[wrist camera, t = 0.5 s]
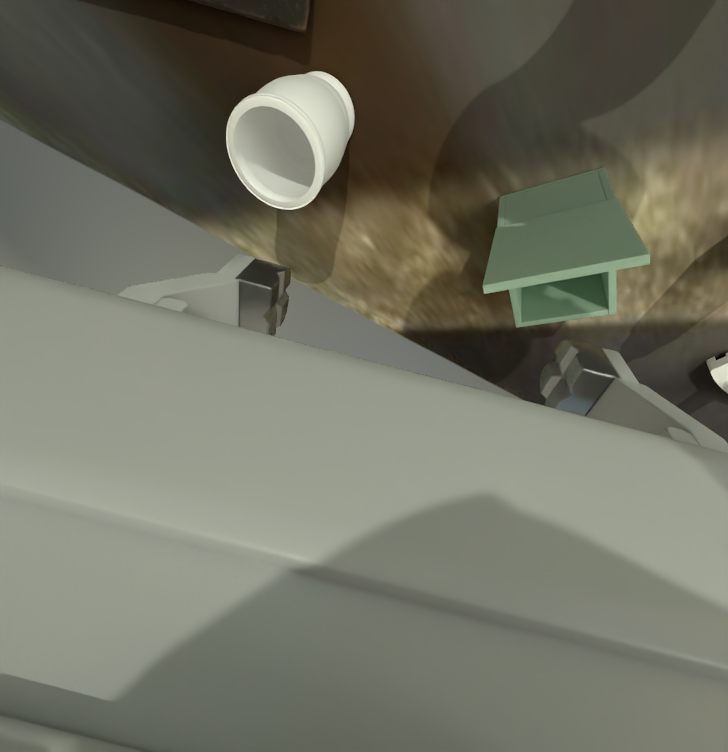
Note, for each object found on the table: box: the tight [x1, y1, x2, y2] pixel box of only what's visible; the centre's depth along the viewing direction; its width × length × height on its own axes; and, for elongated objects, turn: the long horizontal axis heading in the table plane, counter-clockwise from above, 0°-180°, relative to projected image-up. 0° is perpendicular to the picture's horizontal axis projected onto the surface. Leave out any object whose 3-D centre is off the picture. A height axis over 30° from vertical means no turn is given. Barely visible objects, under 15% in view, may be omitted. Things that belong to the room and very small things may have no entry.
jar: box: [226, 71, 354, 210], centre depth 45 cm, size 11×10×15 cm
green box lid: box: [483, 198, 650, 294], centre depth 37 cm, size 15×12×1 cm
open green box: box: [497, 167, 616, 327], centre depth 50 cm, size 15×12×9 cm
